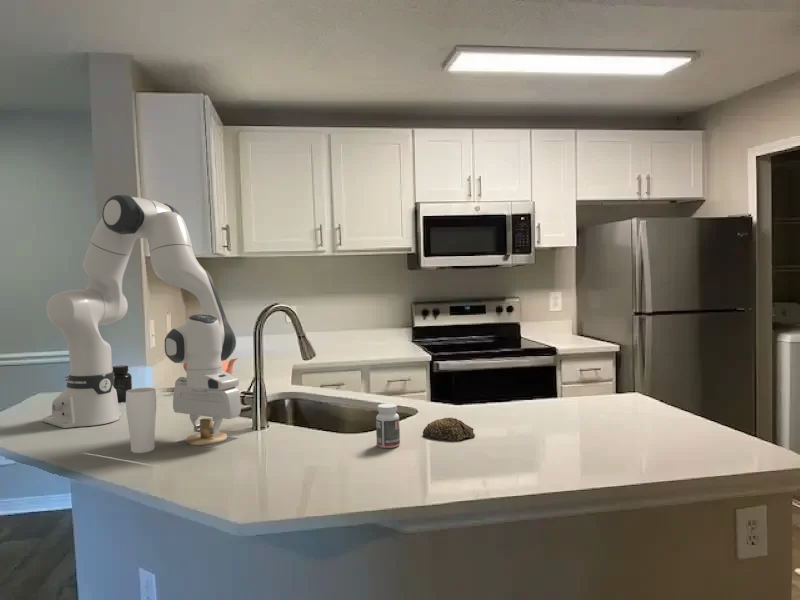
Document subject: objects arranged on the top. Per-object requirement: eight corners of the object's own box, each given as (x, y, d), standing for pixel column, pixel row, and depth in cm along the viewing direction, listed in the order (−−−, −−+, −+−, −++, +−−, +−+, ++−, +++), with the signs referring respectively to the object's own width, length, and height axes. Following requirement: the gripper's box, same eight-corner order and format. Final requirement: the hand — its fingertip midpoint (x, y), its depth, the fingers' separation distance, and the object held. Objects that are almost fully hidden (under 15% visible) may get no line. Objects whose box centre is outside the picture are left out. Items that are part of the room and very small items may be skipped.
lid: (177, 442, 156) (176, 422, 156) (207, 433, 165) (206, 413, 165) (206, 447, 152) (205, 426, 151) (235, 437, 160) (234, 417, 160)
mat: (174, 444, 157) (174, 442, 157) (203, 434, 166) (203, 433, 166) (210, 449, 151) (210, 447, 151) (238, 439, 160) (238, 437, 160)
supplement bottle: (118, 398, 217) (116, 364, 216) (136, 399, 216) (135, 364, 215) (106, 402, 210) (105, 367, 209) (125, 403, 209) (123, 367, 208)
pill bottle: (403, 443, 154) (402, 403, 154) (395, 449, 149) (394, 408, 148) (381, 441, 156) (380, 402, 156) (373, 447, 151) (372, 407, 150)
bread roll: (416, 436, 161) (416, 417, 161) (446, 427, 170) (446, 409, 170) (455, 445, 152) (455, 425, 152) (484, 435, 161) (484, 416, 161)
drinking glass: (147, 456, 147) (144, 393, 146) (121, 454, 148) (119, 392, 147) (163, 448, 153) (161, 387, 153) (138, 446, 155) (136, 387, 154)
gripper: (165, 378, 160) (167, 431, 160) (226, 383, 150) (227, 440, 151) (184, 374, 165) (186, 425, 166) (244, 379, 156) (245, 433, 157)
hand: (206, 432), depth 158 cm, fingers open, 4 cm apart
